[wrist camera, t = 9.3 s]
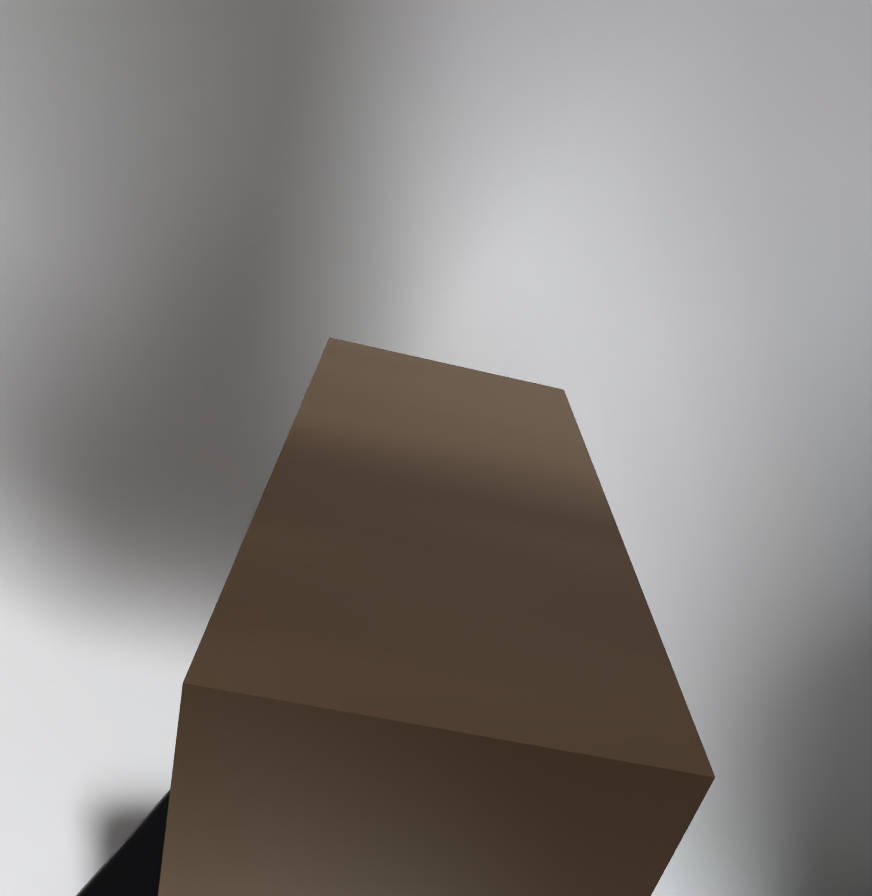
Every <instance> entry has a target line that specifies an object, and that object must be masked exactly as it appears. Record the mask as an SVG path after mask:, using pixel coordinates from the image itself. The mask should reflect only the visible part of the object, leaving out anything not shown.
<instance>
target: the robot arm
mask: <svg viewBox="0 0 872 896" xmlns="http://www.w3.org/2000/svg"><path fill="white" fill-rule="evenodd" d="M169 797H170V790H169V791H168V792H167V793H166V794H165V796H164V797H163V798H162V799H161V800H160V801H159V802H158V804H157V805H156V806H155V807H154V808H153V809H152V810H151V811H150V813H149V814H148V815H147V816H146V817H145V818H144V819H143V821H142V822H141V823H140V824H139V825H138V826H137V827H136V828H135V830H134V831H133V832H132V833H131V834H130V835H129V836H128V838H127V839H126V840H125V841H124V842H123V843H122V844H121V845H120V847H119V848H118V849H117V850H116V851H115V852H114V853H113V855H112V856H111V857H110V858H109V859H108V860H107V861H106V862H105V864H104V865H103V866H102V867H101V868H100V869H99V870H98V872H97V873H96V874H95V875H94V876H93V877H92V878H91V879H90V881H89V882H88V883H87V884H86V885H85V886H84V887H83V889H82V890H81V891H80V892H79V893H78V894H77V895H76V896H158V891H159V882H160V874H161V865H162V857H163V848H164V840H165V831H166V823H167V814H168V806H169Z"/></svg>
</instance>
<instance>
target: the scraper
mask: <svg viewBox="0 0 872 896" xmlns="http://www.w3.org/2000/svg"><path fill="white" fill-rule="evenodd" d="M714 778H715V776H714V773H713V771H712V768H711V766H710V763H709V761H708V758H707V755H706V753H705V750H704V748H703V745H702V743H701V740H700V738H699V735H698V732H697V730H696V727H695V725H694V722H693V720H692V717H691V714H690V712H689V709H688V707H687V704H686V702H685V699H684V697H683V694H682V691H681V689H680V686H679V684H678V681H677V679H676V676H675V673H674V671H673V668H672V666H671V663H670V661H669V658H668V656H667V653H666V650H665V648H664V645H663V643H662V640H661V638H660V635H659V633H658V630H657V627H656V625H655V622H654V620H653V617H652V615H651V612H650V609H649V607H648V604H647V602H646V599H645V597H644V594H643V592H642V589H641V586H640V584H639V581H638V579H637V576H636V574H635V571H634V568H633V566H632V563H631V561H630V558H629V556H628V553H627V551H626V548H625V545H624V543H623V540H622V538H621V535H620V533H619V530H618V527H617V525H616V522H615V520H614V517H613V515H612V512H611V510H610V507H609V504H608V502H607V499H606V497H605V494H604V492H603V489H602V487H601V484H600V481H599V479H598V476H597V474H596V471H595V469H594V466H593V463H592V461H591V458H590V456H589V453H588V451H587V448H586V446H585V443H584V440H583V438H582V435H581V433H580V430H579V428H578V425H577V422H576V420H575V417H574V415H573V412H572V410H571V407H570V405H569V402H568V399H567V397H566V394H565V392H564V390H562V389H558V388H553V387H549V386H544V385H540V384H536V383H531V382H527V381H522V380H518V379H513V378H509V377H504V376H500V375H495V374H491V373H486V372H482V371H477V370H473V369H468V368H464V367H459V366H455V365H450V364H446V363H441V362H437V361H432V360H428V359H423V358H419V357H414V356H410V355H405V354H401V353H396V352H392V351H387V350H383V349H378V348H374V347H369V346H365V345H360V344H356V343H351V342H347V341H342V340H338V339H333V338H329V340H328V343H327V345H326V347H325V350H324V352H323V354H322V357H321V359H320V362H319V364H318V366H317V369H316V371H315V373H314V376H313V378H312V380H311V383H310V385H309V387H308V390H307V392H306V394H305V397H304V399H303V402H302V404H301V406H300V409H299V411H298V413H297V416H296V418H295V420H294V423H293V425H292V427H291V430H290V432H289V434H288V437H287V439H286V442H285V444H284V446H283V449H282V451H281V453H280V456H279V458H278V460H277V463H276V465H275V467H274V470H273V472H272V475H271V477H270V479H269V482H268V484H267V486H266V489H265V491H264V493H263V496H262V498H261V500H260V503H259V505H258V507H257V510H256V512H255V515H254V517H253V519H252V522H251V524H250V526H249V529H248V531H247V533H246V536H245V538H244V540H243V543H242V545H241V547H240V550H239V552H238V555H237V557H236V559H235V562H234V564H233V566H232V569H231V571H230V573H229V576H228V578H227V580H226V583H225V585H224V588H223V590H222V592H221V595H220V597H219V599H218V602H217V604H216V606H215V609H214V611H213V613H212V616H211V618H210V620H209V623H208V625H207V628H206V630H205V632H204V635H203V637H202V639H201V642H200V644H199V646H198V649H197V651H196V653H195V656H194V658H193V661H192V663H191V665H190V668H189V670H188V672H187V675H186V677H185V679H184V682H183V687H182V695H181V704H180V712H179V721H178V729H177V738H176V746H175V755H174V763H173V772H172V780H171V789H170V797H169V806H168V814H167V823H166V831H165V840H164V848H163V857H162V865H161V874H160V882H159V891H158V896H651V894H652V892H653V891H654V889H655V887H656V885H657V883H658V881H659V880H660V878H661V876H662V874H663V872H664V870H665V869H666V867H667V865H668V863H669V861H670V859H671V857H672V856H673V854H674V852H675V850H676V848H677V846H678V845H679V843H680V841H681V839H682V837H683V835H684V834H685V832H686V830H687V828H688V826H689V824H690V823H691V821H692V819H693V817H694V815H695V813H696V812H697V810H698V808H699V806H700V804H701V802H702V800H703V799H704V797H705V795H706V793H707V791H708V789H709V788H710V786H711V784H712V782H713V780H714Z"/></svg>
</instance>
